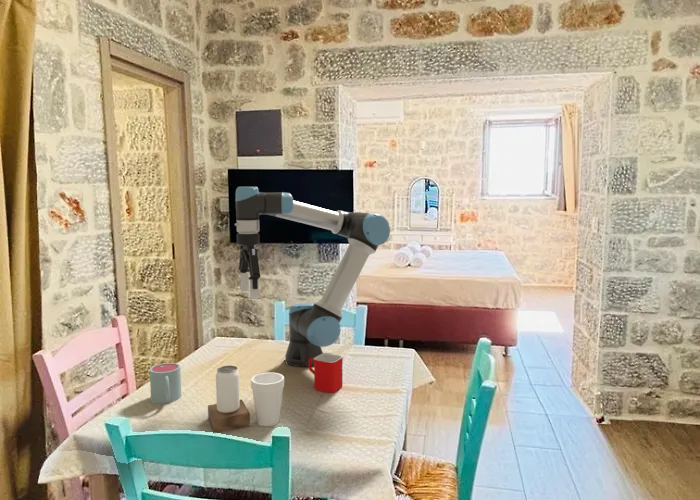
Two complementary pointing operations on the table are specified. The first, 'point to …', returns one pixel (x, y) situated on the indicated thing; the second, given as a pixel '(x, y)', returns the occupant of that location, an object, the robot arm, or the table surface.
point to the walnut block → (228, 418)
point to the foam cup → (267, 397)
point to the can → (227, 389)
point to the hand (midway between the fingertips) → (249, 294)
